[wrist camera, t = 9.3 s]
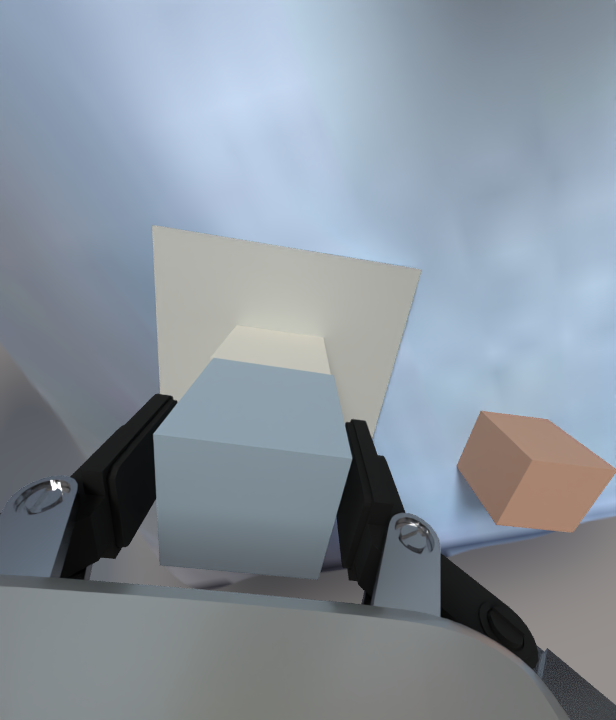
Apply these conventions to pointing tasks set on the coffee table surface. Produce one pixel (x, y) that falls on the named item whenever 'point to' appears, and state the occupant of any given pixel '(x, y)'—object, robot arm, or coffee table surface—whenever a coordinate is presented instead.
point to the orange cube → (531, 472)
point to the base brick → (275, 349)
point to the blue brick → (251, 471)
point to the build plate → (279, 309)
